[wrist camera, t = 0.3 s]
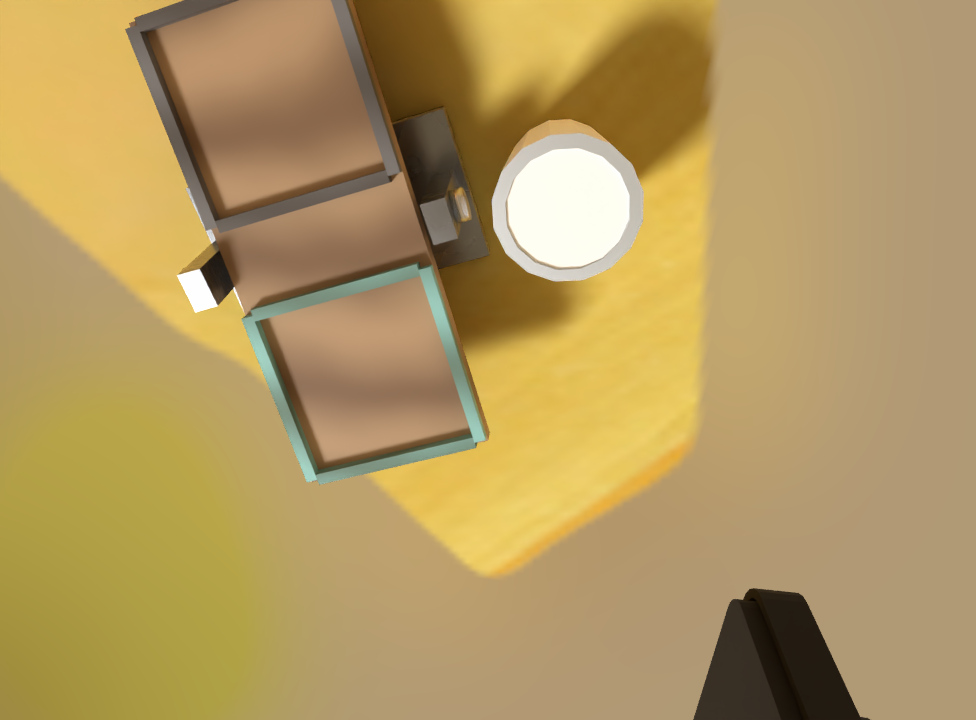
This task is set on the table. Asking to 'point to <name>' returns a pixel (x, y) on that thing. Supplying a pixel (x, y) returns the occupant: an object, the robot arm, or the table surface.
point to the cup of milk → (566, 202)
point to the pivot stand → (436, 195)
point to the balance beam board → (314, 227)
